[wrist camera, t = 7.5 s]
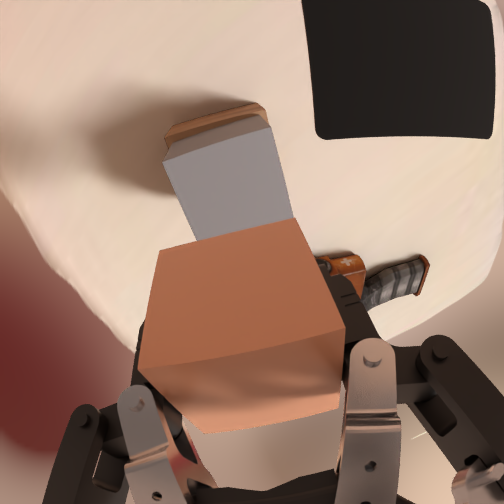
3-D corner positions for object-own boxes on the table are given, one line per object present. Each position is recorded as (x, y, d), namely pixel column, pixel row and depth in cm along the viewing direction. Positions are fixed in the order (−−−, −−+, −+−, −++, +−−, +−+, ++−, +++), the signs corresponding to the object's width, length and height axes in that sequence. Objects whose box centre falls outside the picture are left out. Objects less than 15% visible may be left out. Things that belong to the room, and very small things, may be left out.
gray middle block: (172, 142, 21) (162, 162, 17) (259, 114, 21) (270, 126, 17) (202, 216, 25) (200, 249, 21) (280, 192, 25) (294, 221, 21)
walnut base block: (172, 125, 25) (164, 137, 21) (256, 102, 24) (265, 109, 20) (197, 198, 29) (195, 222, 25) (273, 178, 29) (284, 199, 25)
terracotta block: (159, 250, 10) (137, 369, 6) (295, 217, 10) (345, 327, 6) (201, 334, 13) (204, 433, 9) (306, 311, 13) (338, 407, 9)
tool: (439, 248, 34) (212, 298, 31) (394, 360, 50) (243, 401, 47) (422, 232, 37) (210, 274, 35) (386, 344, 53) (239, 383, 51)
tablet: (490, 6, 15) (492, 139, 27) (487, 6, 16) (488, 138, 28) (293, -46, 15) (316, 140, 27) (292, -44, 16) (314, 139, 28)
